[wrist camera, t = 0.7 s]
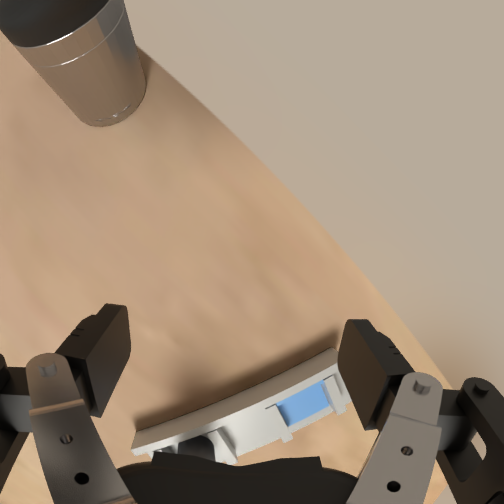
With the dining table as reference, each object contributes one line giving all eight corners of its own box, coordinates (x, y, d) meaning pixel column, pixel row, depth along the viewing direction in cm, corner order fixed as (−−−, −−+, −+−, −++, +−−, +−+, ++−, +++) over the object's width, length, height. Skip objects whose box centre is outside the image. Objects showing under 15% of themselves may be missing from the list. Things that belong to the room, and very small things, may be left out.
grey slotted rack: (135, 431, 32) (130, 449, 28) (331, 347, 36) (346, 357, 32) (168, 474, 33) (167, 493, 29) (350, 396, 36) (364, 409, 32)
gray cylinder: (171, 441, 32) (163, 526, 18) (203, 429, 33) (210, 515, 18) (188, 465, 32) (190, 549, 18) (220, 454, 33) (234, 538, 19)
